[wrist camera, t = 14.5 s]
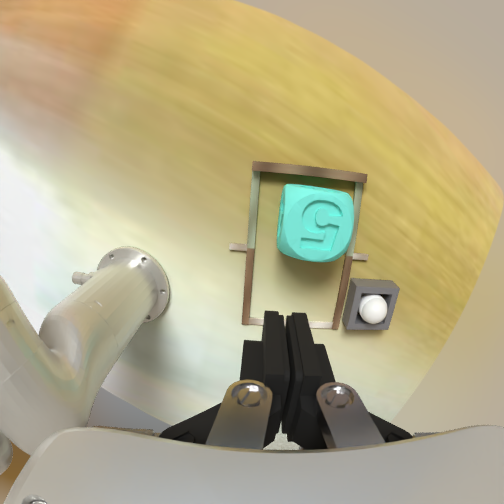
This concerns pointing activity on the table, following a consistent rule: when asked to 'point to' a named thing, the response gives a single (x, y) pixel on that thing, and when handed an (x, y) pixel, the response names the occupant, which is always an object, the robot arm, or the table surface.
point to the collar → (353, 300)
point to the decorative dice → (314, 223)
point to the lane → (250, 245)
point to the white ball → (372, 308)
